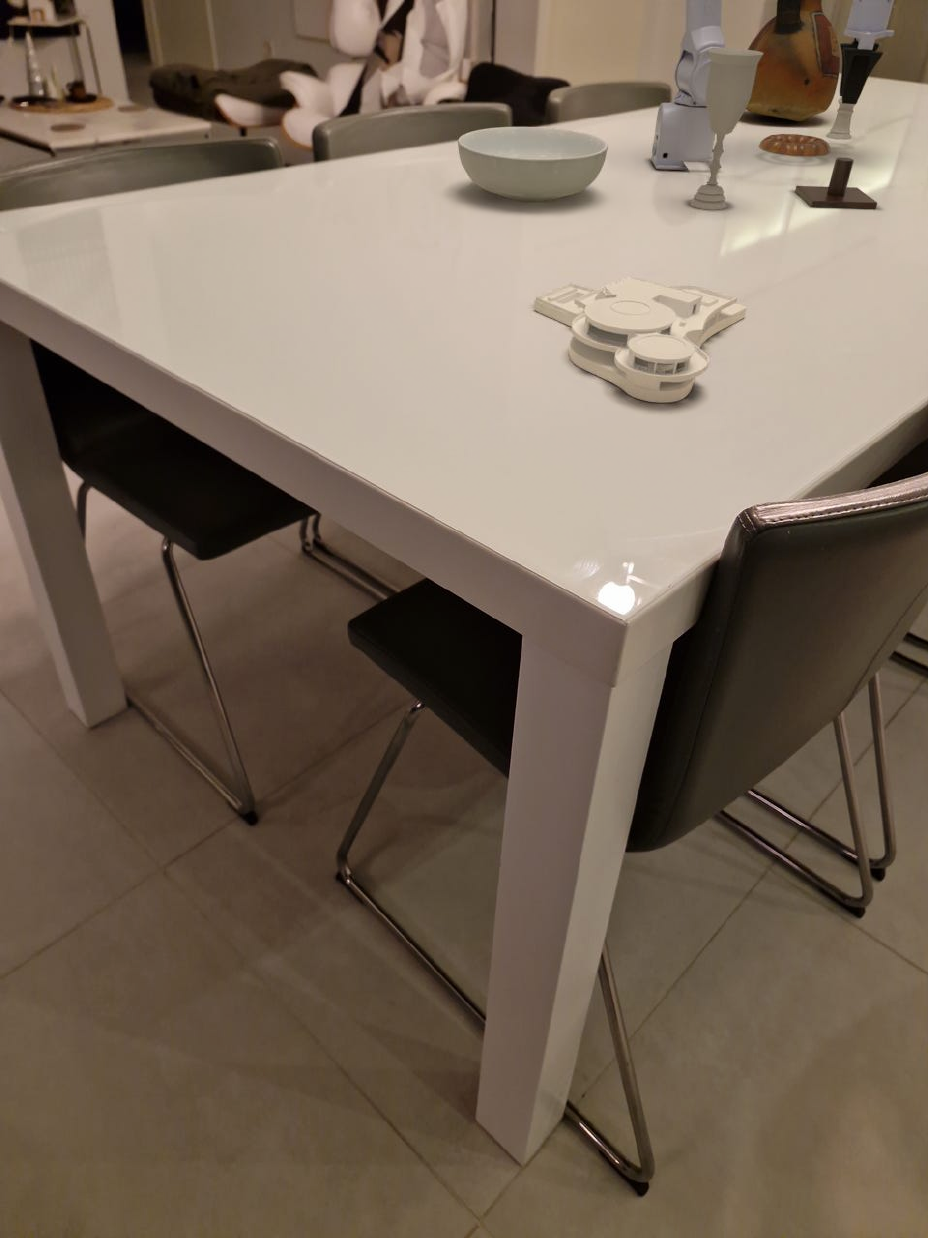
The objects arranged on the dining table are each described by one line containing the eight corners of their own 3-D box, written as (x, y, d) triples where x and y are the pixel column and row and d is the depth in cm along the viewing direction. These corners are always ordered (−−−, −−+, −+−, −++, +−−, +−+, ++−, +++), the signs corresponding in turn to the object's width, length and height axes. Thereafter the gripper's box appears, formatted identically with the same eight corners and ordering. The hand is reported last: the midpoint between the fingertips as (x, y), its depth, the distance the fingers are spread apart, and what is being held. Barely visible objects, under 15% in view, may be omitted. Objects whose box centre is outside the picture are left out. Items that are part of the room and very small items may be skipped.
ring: (766, 164, 142) (770, 144, 140) (751, 150, 150) (755, 131, 148) (834, 166, 141) (840, 146, 139) (815, 152, 150) (820, 133, 148)
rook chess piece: (845, 144, 156) (859, 93, 151) (852, 149, 153) (866, 97, 148) (820, 143, 157) (833, 92, 152) (826, 148, 153) (839, 96, 148)
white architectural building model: (805, 332, 83) (818, 285, 80) (669, 416, 68) (679, 361, 65) (609, 279, 94) (614, 236, 92) (457, 340, 80) (457, 291, 77)
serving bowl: (431, 200, 120) (430, 144, 116) (496, 171, 134) (498, 121, 130) (569, 221, 113) (574, 163, 108) (623, 188, 127) (629, 136, 123)
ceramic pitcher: (838, 117, 179) (885, -67, 160) (813, 132, 165) (861, -67, 146) (746, 107, 186) (780, -70, 168) (715, 120, 173) (748, -70, 154)
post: (811, 206, 121) (821, 165, 117) (794, 191, 128) (804, 151, 124) (875, 208, 120) (888, 166, 117) (855, 193, 127) (866, 153, 124)
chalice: (734, 213, 117) (765, 56, 106) (683, 209, 118) (709, 53, 107) (732, 199, 123) (761, 49, 111) (683, 196, 124) (708, 47, 112)
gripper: (909, -3, 120) (878, 108, 129) (899, -9, 131) (871, 94, 140) (856, -5, 122) (828, 105, 131) (850, -11, 133) (825, 91, 141)
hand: (847, 99), depth 135 cm, fingers open, 7 cm apart
